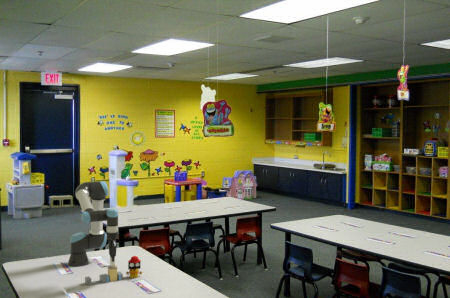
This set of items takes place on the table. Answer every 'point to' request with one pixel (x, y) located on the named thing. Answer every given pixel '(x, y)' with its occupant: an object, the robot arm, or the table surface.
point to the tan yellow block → (112, 273)
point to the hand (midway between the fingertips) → (112, 265)
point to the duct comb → (102, 279)
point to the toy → (134, 267)
